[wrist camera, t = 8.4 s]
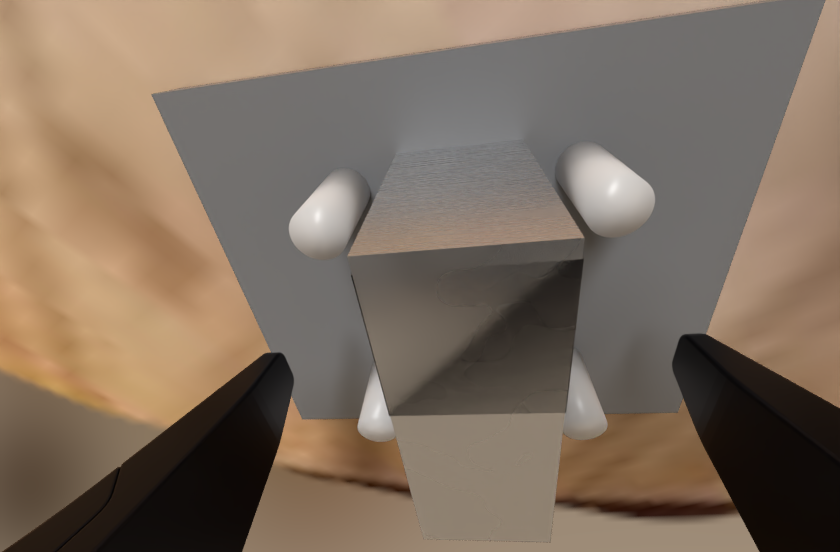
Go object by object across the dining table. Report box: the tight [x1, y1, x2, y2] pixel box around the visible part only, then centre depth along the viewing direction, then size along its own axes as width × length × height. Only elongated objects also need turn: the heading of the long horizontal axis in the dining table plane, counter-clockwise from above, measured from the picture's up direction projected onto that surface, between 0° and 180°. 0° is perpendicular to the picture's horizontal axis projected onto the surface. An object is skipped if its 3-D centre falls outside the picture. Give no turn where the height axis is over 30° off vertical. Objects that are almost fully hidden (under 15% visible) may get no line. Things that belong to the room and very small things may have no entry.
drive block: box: [347, 139, 585, 542], centre depth 9 cm, size 3×8×5 cm, turn 8°
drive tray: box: [151, 0, 825, 442], centre depth 10 cm, size 14×12×4 cm
